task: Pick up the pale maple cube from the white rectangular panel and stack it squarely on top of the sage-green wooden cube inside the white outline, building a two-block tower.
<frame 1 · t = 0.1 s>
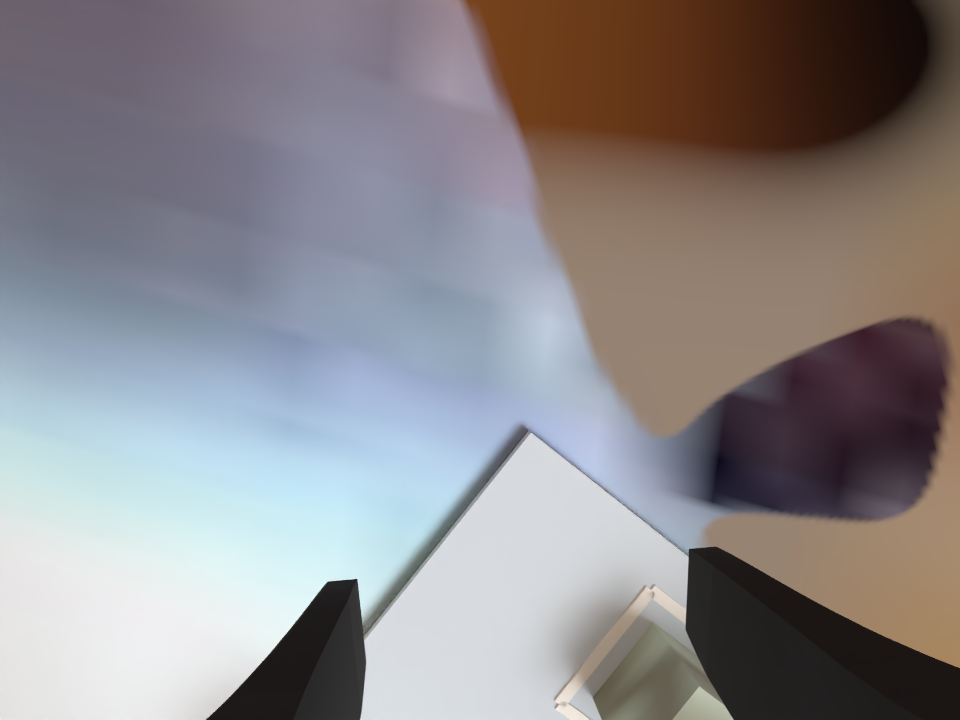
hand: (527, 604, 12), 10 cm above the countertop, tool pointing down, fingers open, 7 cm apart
sage base cube: (659, 686, 23), resting on white rectangular panel
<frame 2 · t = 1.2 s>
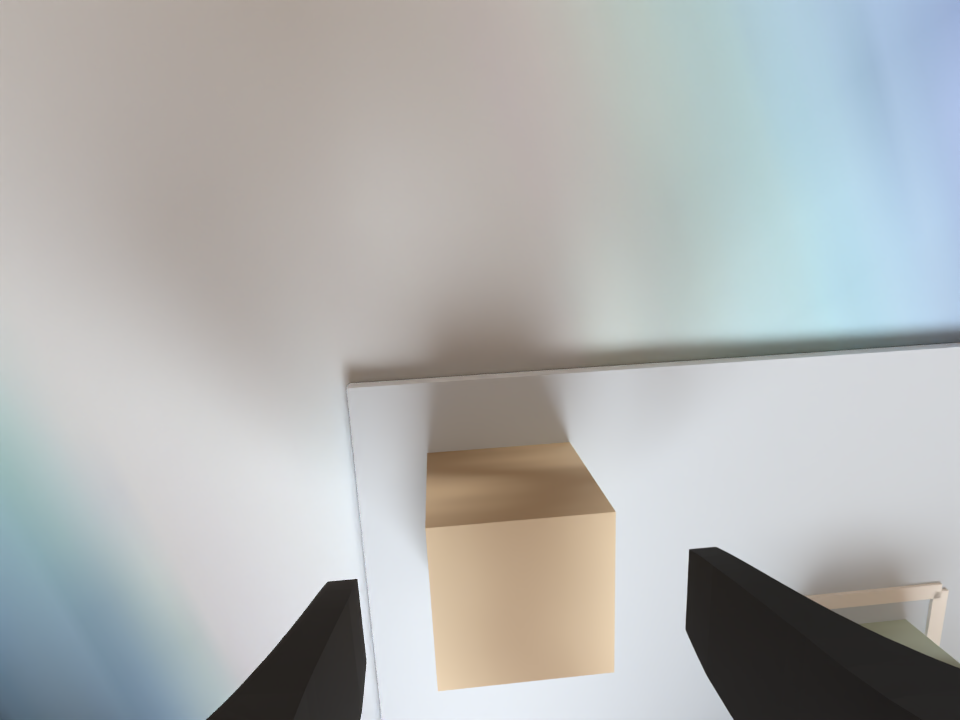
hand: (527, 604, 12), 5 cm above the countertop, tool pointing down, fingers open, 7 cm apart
maple cube: (501, 512, 16), resting on white rectangular panel
sage base cube: (840, 677, 18), resting on white rectangular panel
white rectangular panel: (690, 603, 18), on the countertop
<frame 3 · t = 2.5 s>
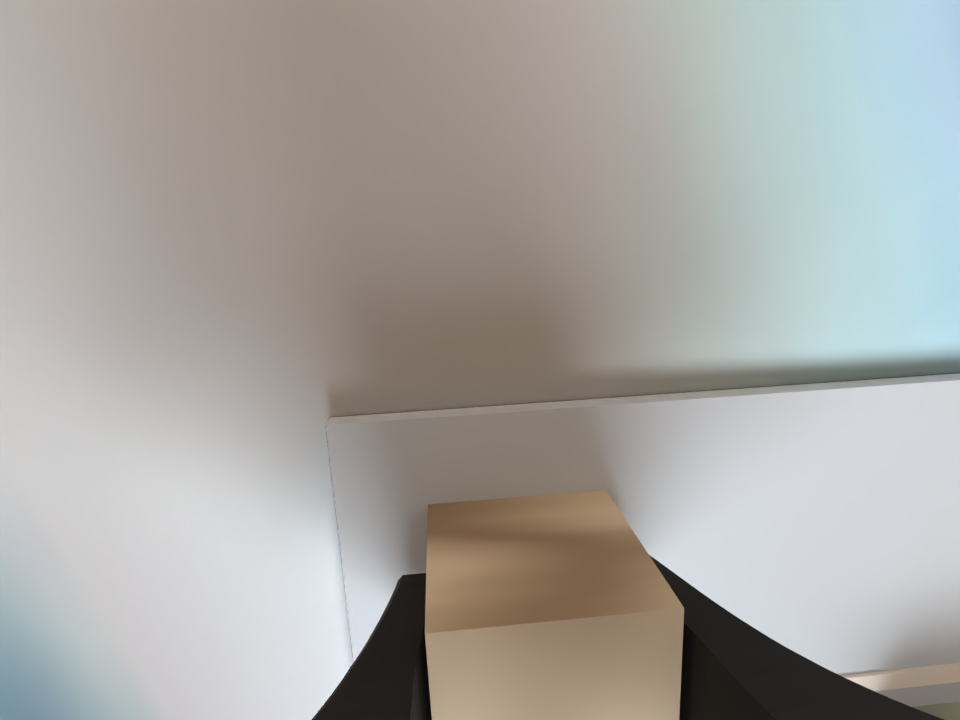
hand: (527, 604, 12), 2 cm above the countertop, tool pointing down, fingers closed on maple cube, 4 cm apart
maple cube: (520, 576, 13), resting on white rectangular panel, touching gripper
white rectangular panel: (746, 677, 15), on the countertop
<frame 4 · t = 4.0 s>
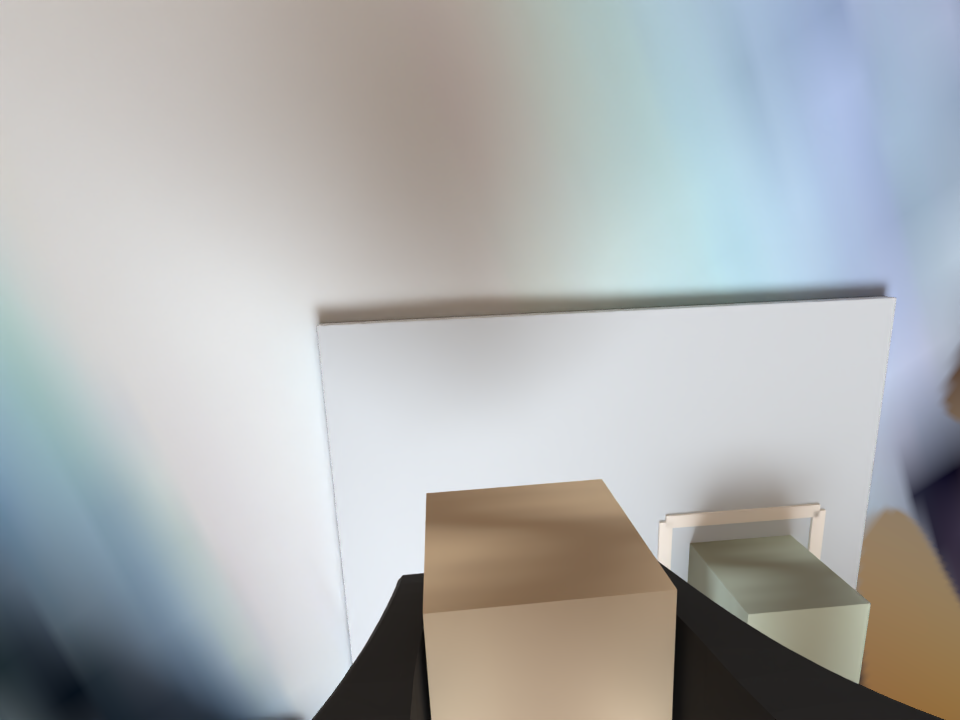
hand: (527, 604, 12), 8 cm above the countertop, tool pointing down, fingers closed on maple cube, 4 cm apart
maple cube: (517, 564, 13), point 7 cm above the countertop, touching gripper
sage base cube: (736, 584, 21), resting on white rectangular panel
white rectangular panel: (608, 518, 21), on the countertop
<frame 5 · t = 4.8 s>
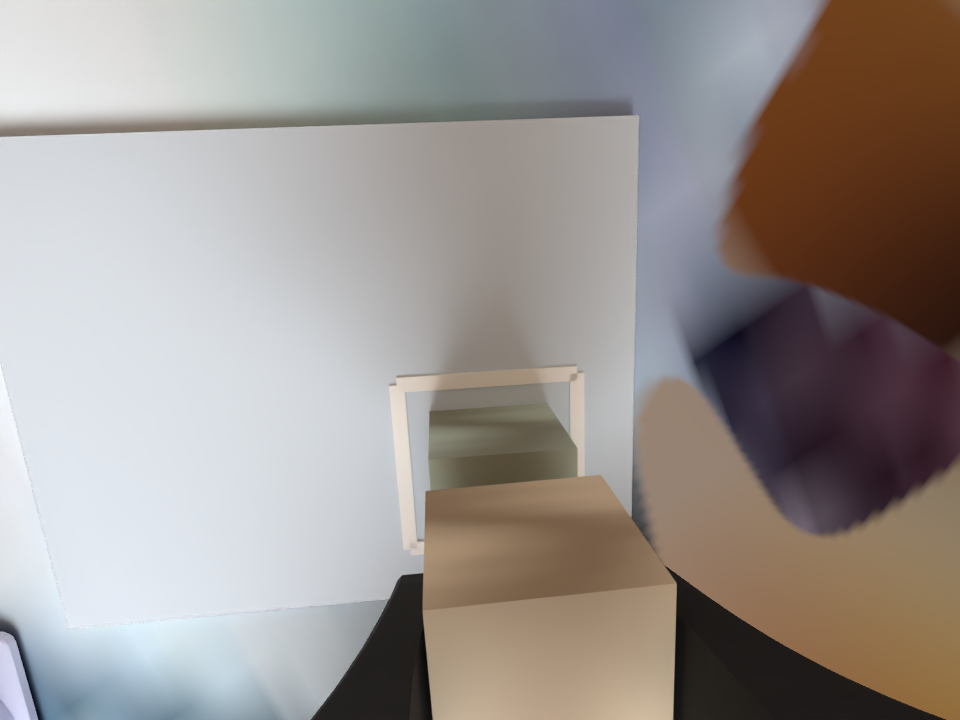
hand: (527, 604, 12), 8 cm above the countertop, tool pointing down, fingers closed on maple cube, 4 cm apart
maple cube: (518, 561, 13), point 7 cm above the countertop, touching gripper
sage base cube: (491, 462, 19), resting on white rectangular panel
white rectangular panel: (337, 384, 18), on the countertop
when the fingers open (7 cm above the countertop, at t = 5.4 s): maple cube stays where it is, resting on sage base cube.
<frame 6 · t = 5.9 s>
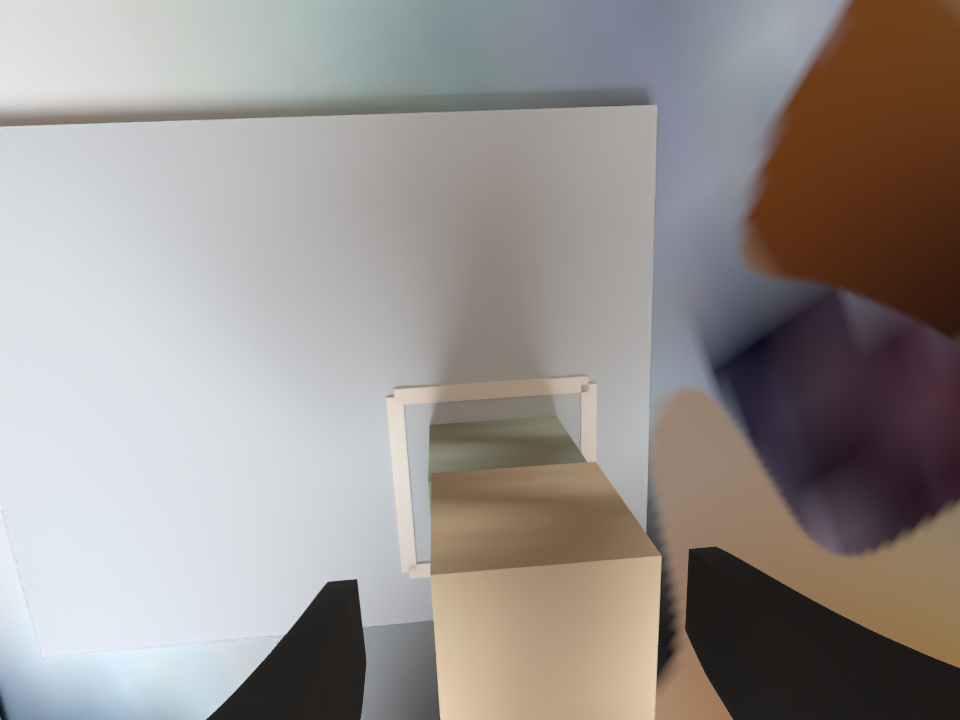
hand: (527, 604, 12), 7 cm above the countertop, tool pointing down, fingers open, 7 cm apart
maple cube: (516, 541, 14), point 4 cm above the countertop, touching sage base cube
sage base cube: (496, 479, 18), resting on white rectangular panel, touching maple cube
white rectangular panel: (331, 396, 17), on the countertop
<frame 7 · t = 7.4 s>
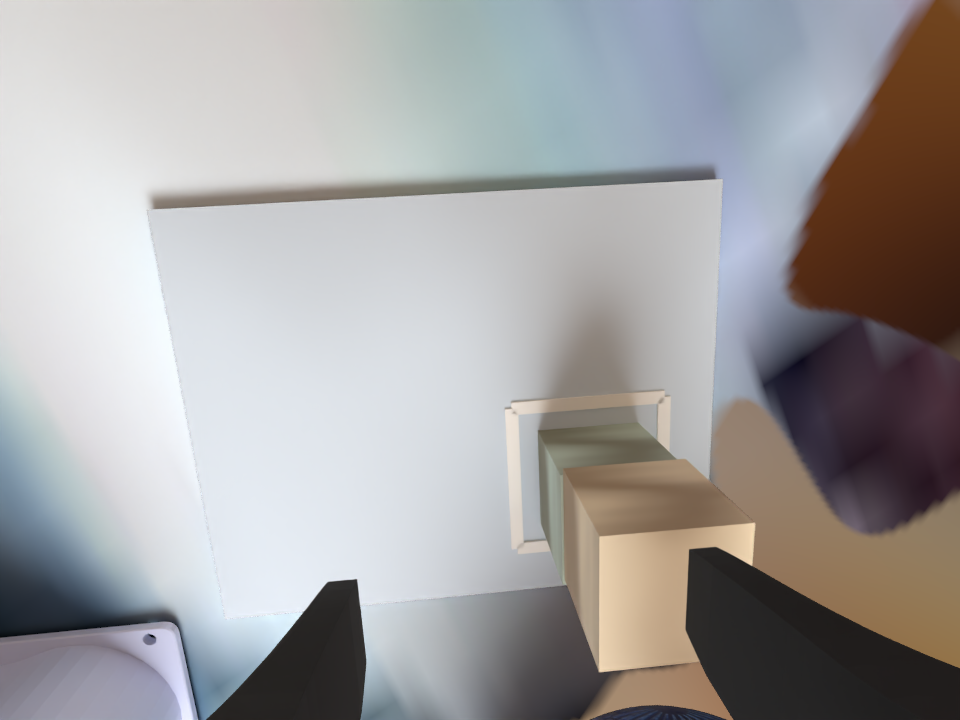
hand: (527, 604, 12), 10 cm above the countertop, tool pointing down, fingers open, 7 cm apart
maple cube: (623, 519, 18), point 4 cm above the countertop, touching sage base cube
sage base cube: (588, 473, 22), resting on white rectangular panel, touching maple cube
white rectangular panel: (458, 408, 21), on the countertop
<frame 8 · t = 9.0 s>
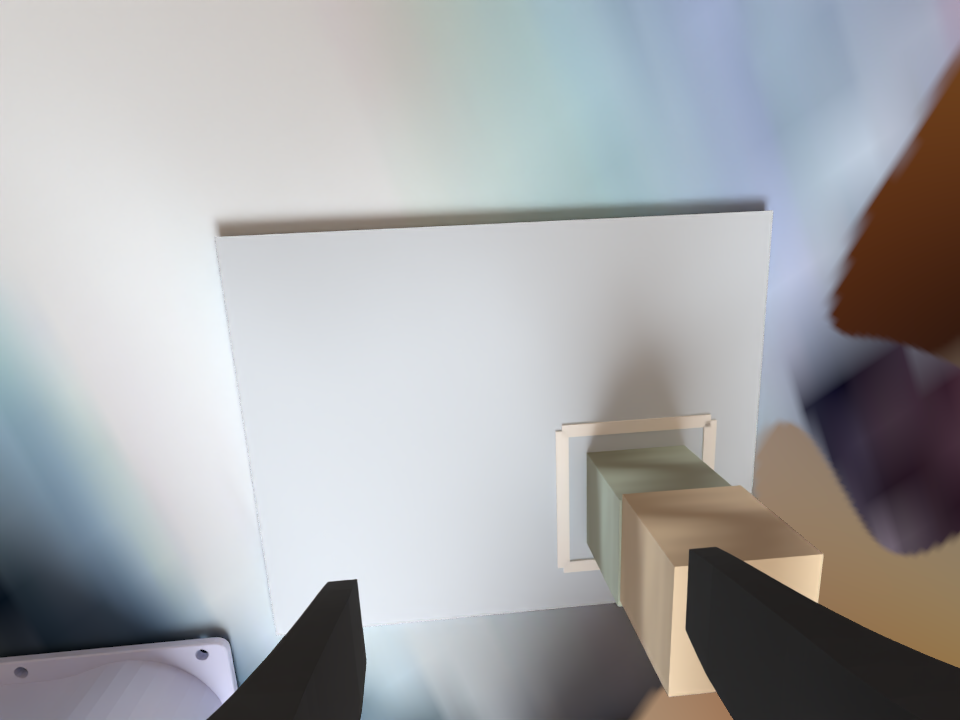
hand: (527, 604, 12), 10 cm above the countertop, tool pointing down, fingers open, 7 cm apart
maple cube: (679, 544, 19), point 4 cm above the countertop, touching sage base cube
sage base cube: (634, 494, 22), resting on white rectangular panel, touching maple cube
white rectangular panel: (509, 430, 22), on the countertop
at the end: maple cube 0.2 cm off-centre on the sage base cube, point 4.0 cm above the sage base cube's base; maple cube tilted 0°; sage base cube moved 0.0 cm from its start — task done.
